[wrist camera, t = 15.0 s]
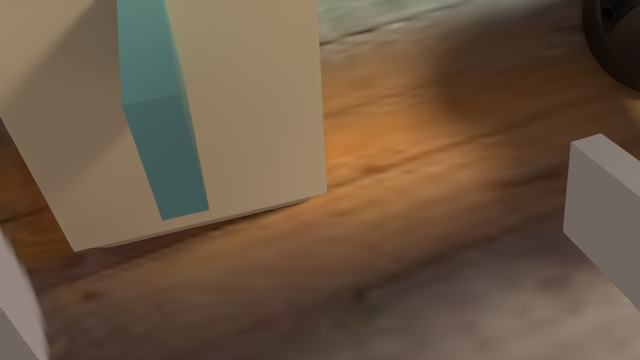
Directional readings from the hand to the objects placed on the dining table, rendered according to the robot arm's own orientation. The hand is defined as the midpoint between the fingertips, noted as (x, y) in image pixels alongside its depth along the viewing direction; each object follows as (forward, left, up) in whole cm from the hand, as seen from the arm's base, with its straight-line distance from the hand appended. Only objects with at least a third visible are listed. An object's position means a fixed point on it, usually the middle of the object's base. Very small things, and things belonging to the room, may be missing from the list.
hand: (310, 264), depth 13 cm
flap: (-3, -11, -21) cm, 24 cm away
